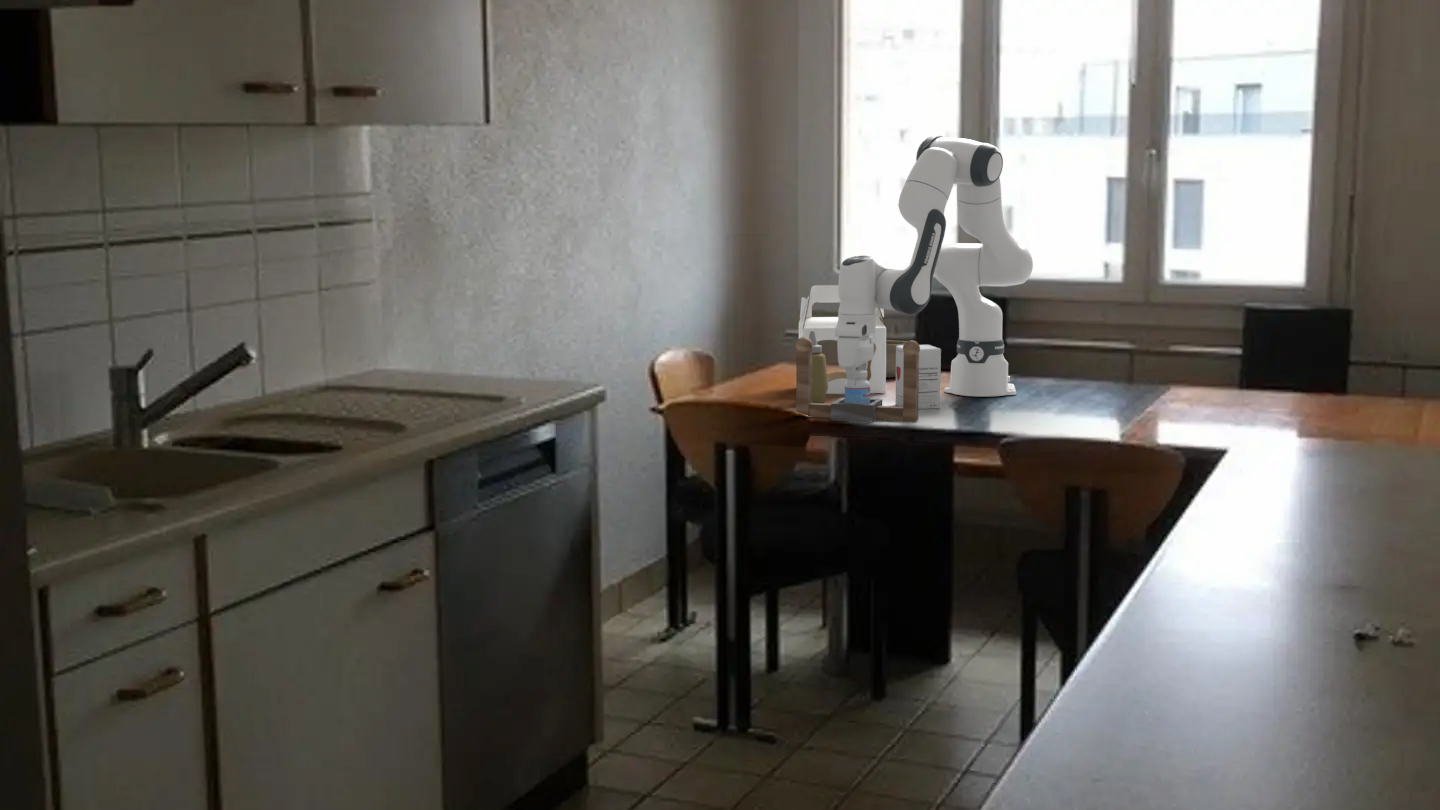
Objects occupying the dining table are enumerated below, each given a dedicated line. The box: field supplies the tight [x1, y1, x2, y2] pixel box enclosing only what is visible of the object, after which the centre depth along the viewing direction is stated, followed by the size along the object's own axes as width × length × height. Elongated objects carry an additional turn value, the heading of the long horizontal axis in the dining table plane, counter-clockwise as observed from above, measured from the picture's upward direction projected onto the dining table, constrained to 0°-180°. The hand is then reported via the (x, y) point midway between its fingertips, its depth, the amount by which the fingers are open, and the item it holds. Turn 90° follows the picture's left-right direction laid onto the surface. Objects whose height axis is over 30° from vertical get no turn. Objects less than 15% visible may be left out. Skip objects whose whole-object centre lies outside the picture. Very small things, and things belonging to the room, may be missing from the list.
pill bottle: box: [844, 370, 871, 404], centre depth 403 cm, size 6×6×11 cm
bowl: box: [856, 339, 907, 378], centre depth 476 cm, size 17×18×10 cm
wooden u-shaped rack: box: [795, 337, 920, 423], centre depth 403 cm, size 10×30×19 cm, turn 72°
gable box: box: [798, 284, 887, 395], centre depth 448 cm, size 22×13×28 cm, turn 92°
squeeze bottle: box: [809, 331, 828, 403], centre depth 429 cm, size 8×8×18 cm
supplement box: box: [895, 344, 942, 410], centre depth 420 cm, size 9×9×15 cm
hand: (856, 383), depth 403 cm, fingers open, 8 cm apart
